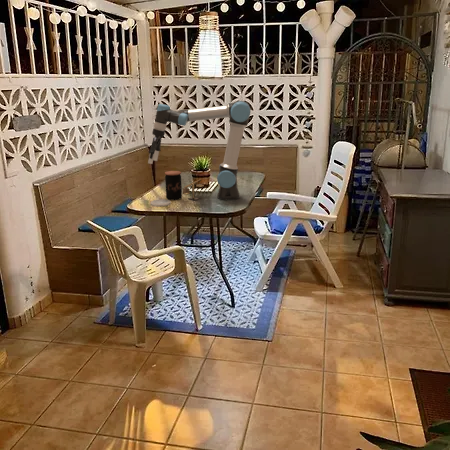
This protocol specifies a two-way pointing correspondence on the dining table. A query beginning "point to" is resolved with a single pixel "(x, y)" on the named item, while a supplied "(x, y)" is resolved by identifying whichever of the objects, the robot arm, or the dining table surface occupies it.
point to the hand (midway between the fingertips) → (152, 162)
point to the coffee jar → (173, 185)
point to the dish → (160, 202)
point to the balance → (186, 190)
